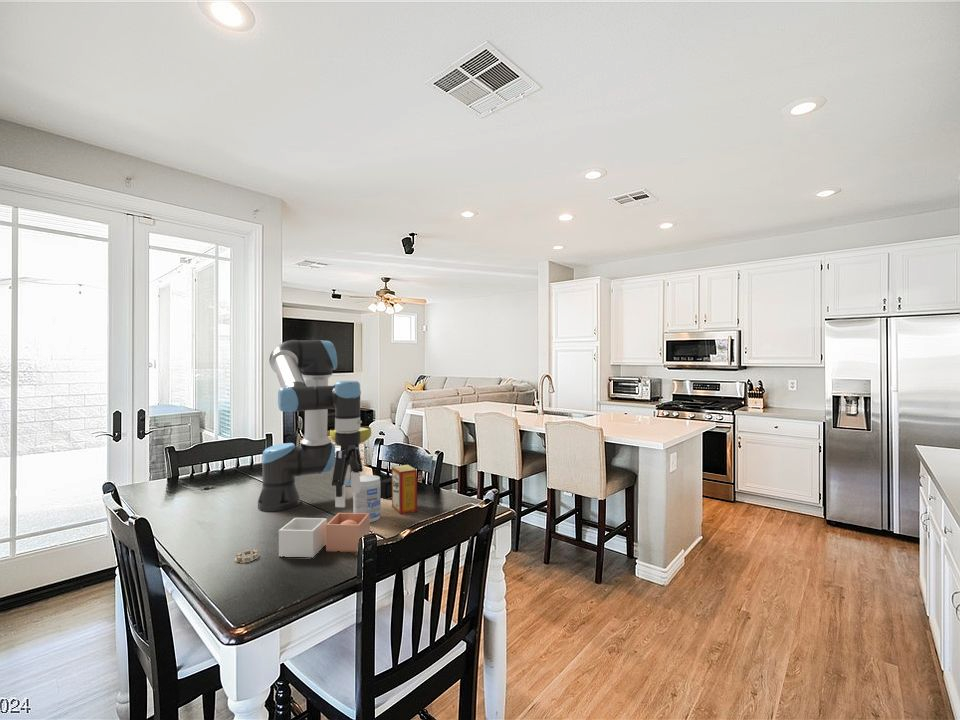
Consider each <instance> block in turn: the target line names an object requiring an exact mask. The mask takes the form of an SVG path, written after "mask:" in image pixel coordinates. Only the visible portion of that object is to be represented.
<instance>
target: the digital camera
mask: <svg viewBox="0 0 960 720" xmlns="http://www.w3.org/2000/svg"><path fill="white" fill-rule="evenodd" d="M380 483H381V499H382V498H383V499H382V500H385V499H386V500H388V498H389V499H392V498H391V497H392V477H389V478H386V479H380Z"/></svg>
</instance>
